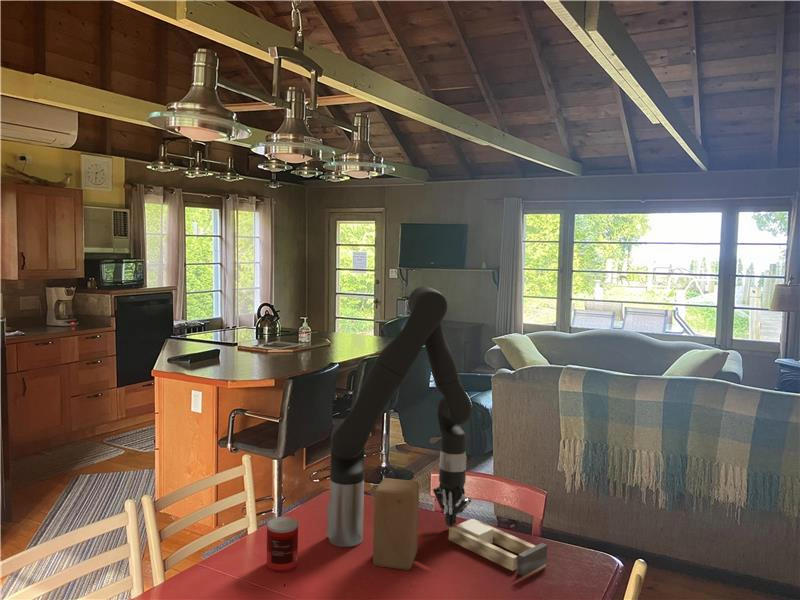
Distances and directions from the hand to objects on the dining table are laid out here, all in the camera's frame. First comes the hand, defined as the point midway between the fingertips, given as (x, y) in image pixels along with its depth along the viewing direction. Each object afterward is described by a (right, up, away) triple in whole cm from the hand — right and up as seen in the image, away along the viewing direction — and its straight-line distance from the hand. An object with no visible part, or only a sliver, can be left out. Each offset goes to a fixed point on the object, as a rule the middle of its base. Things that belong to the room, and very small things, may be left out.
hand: (450, 525), depth 181 cm
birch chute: (+10, -3, -11) cm, 15 cm away
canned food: (-44, -3, -21) cm, 49 cm away
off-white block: (+6, -2, -7) cm, 9 cm away
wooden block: (-16, -3, -17) cm, 23 cm away
